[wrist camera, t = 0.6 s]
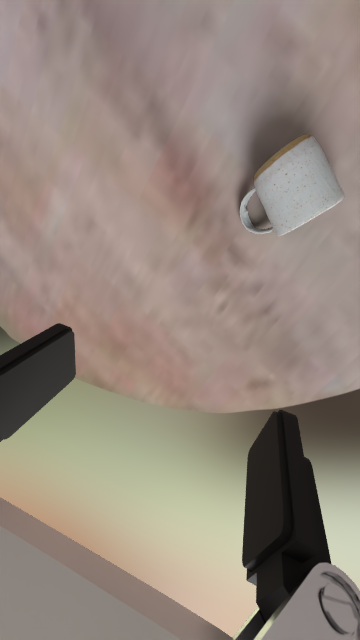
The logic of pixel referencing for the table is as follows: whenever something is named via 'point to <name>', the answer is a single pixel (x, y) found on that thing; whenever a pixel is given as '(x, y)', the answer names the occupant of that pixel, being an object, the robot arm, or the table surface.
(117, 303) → the table surface
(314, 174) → the ceramic mug
